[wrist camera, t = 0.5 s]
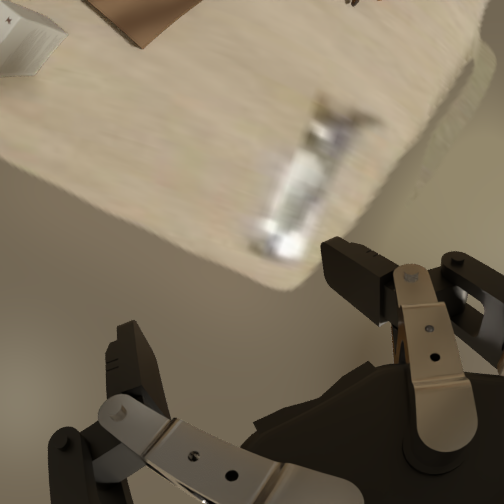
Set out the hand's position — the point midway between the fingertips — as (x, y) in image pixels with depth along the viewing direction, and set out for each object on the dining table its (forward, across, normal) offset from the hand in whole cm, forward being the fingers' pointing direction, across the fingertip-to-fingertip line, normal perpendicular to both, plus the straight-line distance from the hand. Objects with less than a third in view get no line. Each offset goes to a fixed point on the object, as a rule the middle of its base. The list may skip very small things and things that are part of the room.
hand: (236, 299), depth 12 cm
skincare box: (+25, +9, -21) cm, 34 cm away
